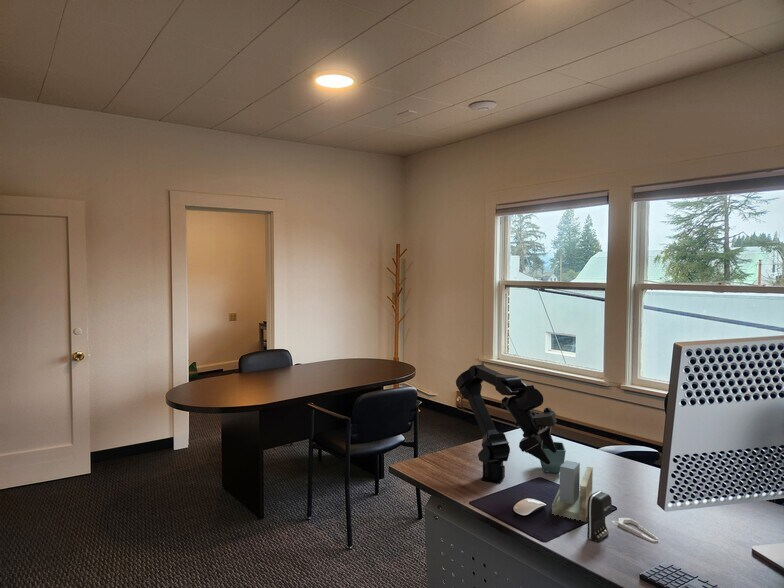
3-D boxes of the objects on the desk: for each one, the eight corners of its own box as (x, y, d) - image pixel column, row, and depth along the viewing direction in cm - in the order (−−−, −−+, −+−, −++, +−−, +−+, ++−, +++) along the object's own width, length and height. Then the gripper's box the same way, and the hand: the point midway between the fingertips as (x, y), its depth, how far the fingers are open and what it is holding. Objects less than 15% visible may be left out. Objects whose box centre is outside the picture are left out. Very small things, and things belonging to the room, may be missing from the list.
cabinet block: (556, 500, 150) (556, 465, 149) (562, 493, 154) (563, 459, 154) (573, 504, 147) (573, 469, 146) (579, 497, 151) (579, 463, 151)
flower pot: (565, 476, 173) (566, 450, 172) (539, 474, 174) (539, 448, 174) (562, 466, 181) (562, 442, 181) (537, 464, 183) (537, 440, 183)
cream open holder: (551, 514, 145) (552, 480, 144) (561, 493, 159) (561, 462, 159) (585, 521, 140) (586, 486, 140) (592, 499, 155) (592, 467, 154)
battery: (600, 544, 128) (601, 501, 128) (586, 539, 131) (587, 496, 131) (613, 535, 133) (613, 493, 133) (599, 530, 136) (599, 488, 136)
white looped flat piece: (666, 542, 132) (666, 536, 132) (654, 547, 129) (655, 541, 129) (621, 519, 143) (621, 513, 143) (610, 523, 140) (610, 517, 140)
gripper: (535, 411, 146) (568, 458, 142) (549, 393, 162) (579, 435, 159) (505, 428, 151) (537, 474, 147) (521, 409, 167) (550, 450, 164)
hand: (552, 457), depth 154 cm, fingers open, 9 cm apart
